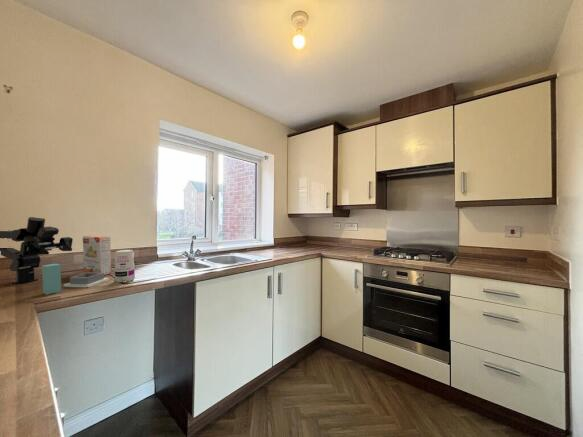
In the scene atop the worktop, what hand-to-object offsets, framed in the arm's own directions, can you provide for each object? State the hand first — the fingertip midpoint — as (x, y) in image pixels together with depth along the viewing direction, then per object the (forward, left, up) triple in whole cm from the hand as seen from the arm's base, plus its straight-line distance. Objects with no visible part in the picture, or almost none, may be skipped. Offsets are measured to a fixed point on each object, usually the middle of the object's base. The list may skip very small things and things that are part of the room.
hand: (60, 251), depth 115 cm
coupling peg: (+5, -8, -16) cm, 19 cm away
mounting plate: (+7, +6, -16) cm, 19 cm away
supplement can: (+21, +13, -16) cm, 30 cm away
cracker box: (-4, +22, -16) cm, 27 cm away
